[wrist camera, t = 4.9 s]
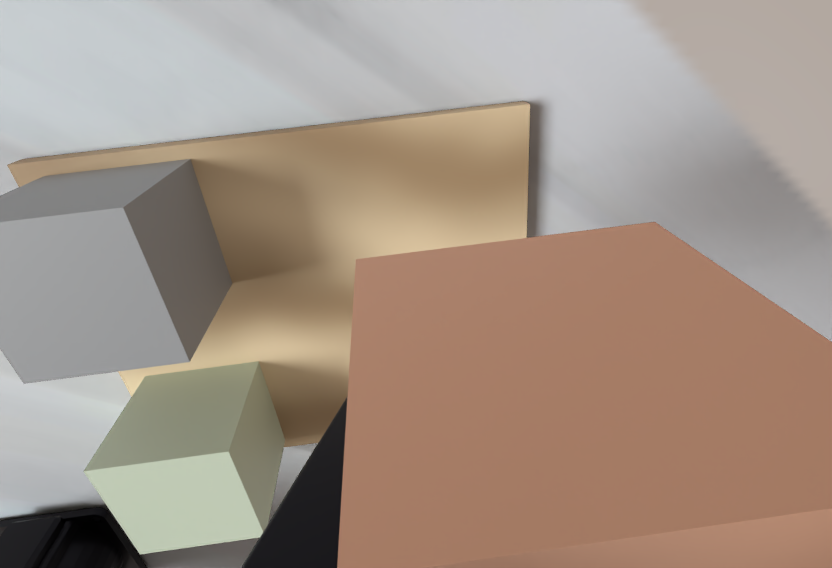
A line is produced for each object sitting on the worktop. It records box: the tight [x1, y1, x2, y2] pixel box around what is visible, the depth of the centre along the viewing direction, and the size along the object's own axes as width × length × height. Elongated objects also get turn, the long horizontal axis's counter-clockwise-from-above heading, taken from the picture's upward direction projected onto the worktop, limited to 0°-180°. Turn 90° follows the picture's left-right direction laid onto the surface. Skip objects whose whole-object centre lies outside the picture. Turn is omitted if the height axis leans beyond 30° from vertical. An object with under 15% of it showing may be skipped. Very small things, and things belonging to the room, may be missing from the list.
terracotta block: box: [337, 222, 832, 568], centre depth 7 cm, size 5×5×5 cm
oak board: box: [7, 101, 530, 447], centre depth 20 cm, size 15×18×1 cm
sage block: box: [84, 361, 285, 554], centre depth 19 cm, size 5×5×5 cm
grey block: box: [0, 159, 232, 384], centre depth 15 cm, size 5×5×5 cm
